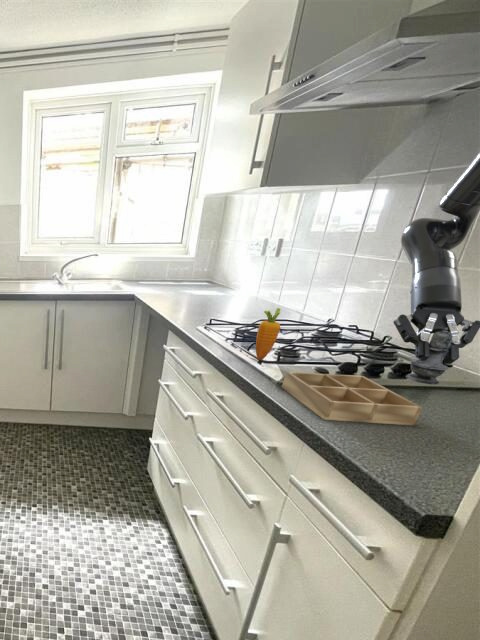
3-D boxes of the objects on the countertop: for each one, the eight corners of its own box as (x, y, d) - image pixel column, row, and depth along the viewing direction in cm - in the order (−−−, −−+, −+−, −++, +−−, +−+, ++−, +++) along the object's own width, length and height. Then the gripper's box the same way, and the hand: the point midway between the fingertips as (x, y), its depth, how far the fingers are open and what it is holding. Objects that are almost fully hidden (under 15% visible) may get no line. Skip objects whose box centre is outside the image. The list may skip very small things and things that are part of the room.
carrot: (253, 363, 116) (269, 310, 110) (246, 357, 120) (261, 305, 114) (273, 364, 115) (290, 311, 109) (264, 358, 120) (280, 306, 114)
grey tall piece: (415, 383, 90) (440, 330, 85) (397, 373, 96) (419, 322, 91) (448, 386, 89) (475, 332, 84) (428, 375, 94) (452, 324, 89)
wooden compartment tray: (356, 391, 99) (363, 375, 97) (413, 425, 84) (423, 407, 82) (281, 387, 101) (286, 371, 99) (324, 419, 86) (331, 402, 84)
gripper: (403, 280, 93) (403, 348, 88) (492, 285, 87) (498, 357, 82) (384, 299, 100) (384, 363, 95) (466, 305, 94) (470, 373, 89)
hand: (437, 360), depth 88 cm, fingers closed on grey tall piece, 3 cm apart
